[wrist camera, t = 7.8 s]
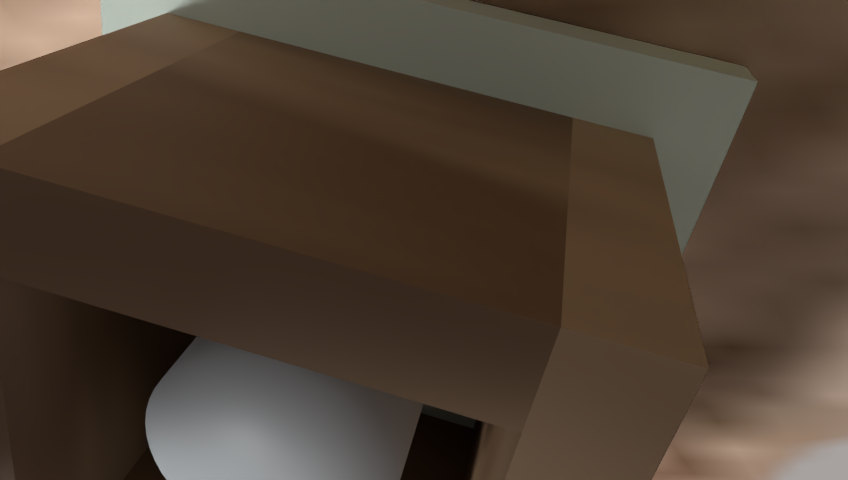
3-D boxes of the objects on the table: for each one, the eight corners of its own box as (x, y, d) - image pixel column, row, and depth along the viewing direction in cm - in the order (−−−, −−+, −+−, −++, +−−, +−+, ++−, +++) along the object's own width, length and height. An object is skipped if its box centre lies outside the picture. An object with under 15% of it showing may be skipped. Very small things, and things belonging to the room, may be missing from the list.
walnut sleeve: (517, 489, 13) (482, 803, 9) (162, 380, 13) (-38, 624, 9) (653, 138, 9) (709, 369, 5) (167, 12, 10) (-153, 124, 6)
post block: (558, 505, 14) (547, 775, 10) (139, 380, 15) (-37, 581, 11) (745, 66, 10) (867, 220, 5) (130, -81, 10) (-180, -46, 6)
